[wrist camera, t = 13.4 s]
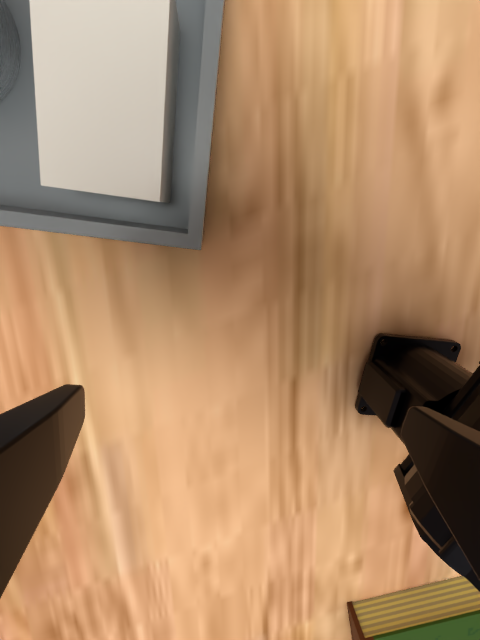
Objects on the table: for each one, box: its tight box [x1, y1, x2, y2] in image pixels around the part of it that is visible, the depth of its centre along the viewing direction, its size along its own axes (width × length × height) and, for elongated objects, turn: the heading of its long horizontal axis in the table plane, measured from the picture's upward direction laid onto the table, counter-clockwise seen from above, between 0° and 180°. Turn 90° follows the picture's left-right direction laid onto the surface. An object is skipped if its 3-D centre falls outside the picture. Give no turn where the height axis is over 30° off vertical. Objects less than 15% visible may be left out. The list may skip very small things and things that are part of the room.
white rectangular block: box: [29, 0, 180, 203], centre depth 15 cm, size 5×8×4 cm, turn 172°
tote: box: [0, 0, 225, 250], centre depth 15 cm, size 18×14×4 cm
